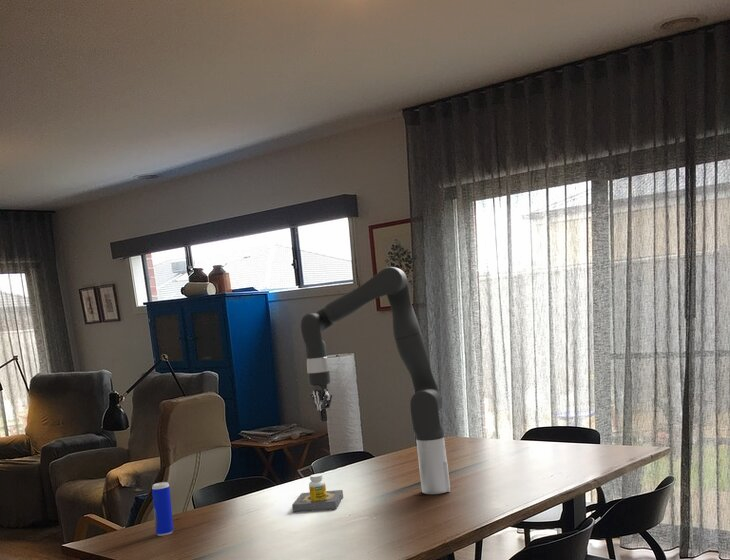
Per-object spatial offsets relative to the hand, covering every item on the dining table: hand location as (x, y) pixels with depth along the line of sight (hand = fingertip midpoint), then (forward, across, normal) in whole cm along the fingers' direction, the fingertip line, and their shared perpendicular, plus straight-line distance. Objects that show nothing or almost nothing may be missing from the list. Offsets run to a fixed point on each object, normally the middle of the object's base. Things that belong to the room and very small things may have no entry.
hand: (323, 421), depth 239 cm
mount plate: (+25, -8, +9) cm, 28 cm away
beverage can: (+25, +3, +56) cm, 61 cm away
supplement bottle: (+25, -8, +9) cm, 28 cm away
